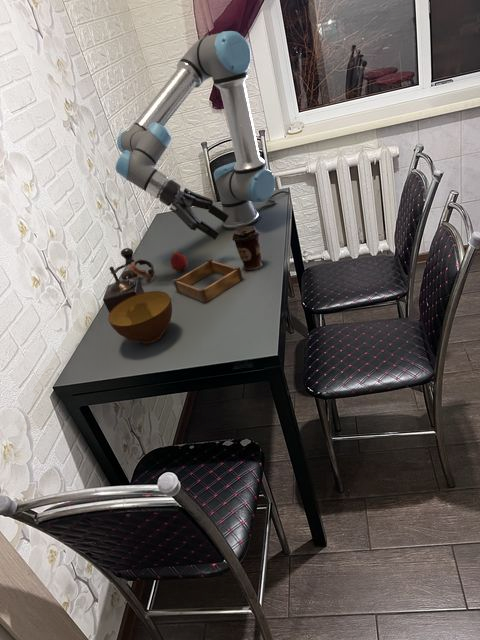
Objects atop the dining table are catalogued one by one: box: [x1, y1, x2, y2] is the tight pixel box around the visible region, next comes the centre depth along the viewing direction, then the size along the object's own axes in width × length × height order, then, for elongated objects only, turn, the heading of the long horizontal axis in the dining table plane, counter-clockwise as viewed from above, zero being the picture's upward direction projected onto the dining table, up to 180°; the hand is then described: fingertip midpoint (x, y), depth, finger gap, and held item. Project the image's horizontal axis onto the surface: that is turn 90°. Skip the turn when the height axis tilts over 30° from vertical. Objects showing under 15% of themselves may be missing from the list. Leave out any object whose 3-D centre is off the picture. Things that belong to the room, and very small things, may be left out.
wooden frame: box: [172, 258, 244, 304], centre depth 152 cm, size 16×16×4 cm
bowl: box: [107, 290, 173, 344], centre depth 132 cm, size 18×18×10 cm
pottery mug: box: [120, 259, 155, 283], centre depth 167 cm, size 12×10×8 cm
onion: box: [170, 250, 188, 273], centre depth 165 cm, size 6×6×8 cm
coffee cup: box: [232, 225, 263, 271], centre depth 154 cm, size 9×8×13 cm
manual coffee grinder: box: [102, 247, 146, 314], centre depth 147 cm, size 16×11×18 cm
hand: (222, 227), depth 151 cm, fingers open, 13 cm apart
